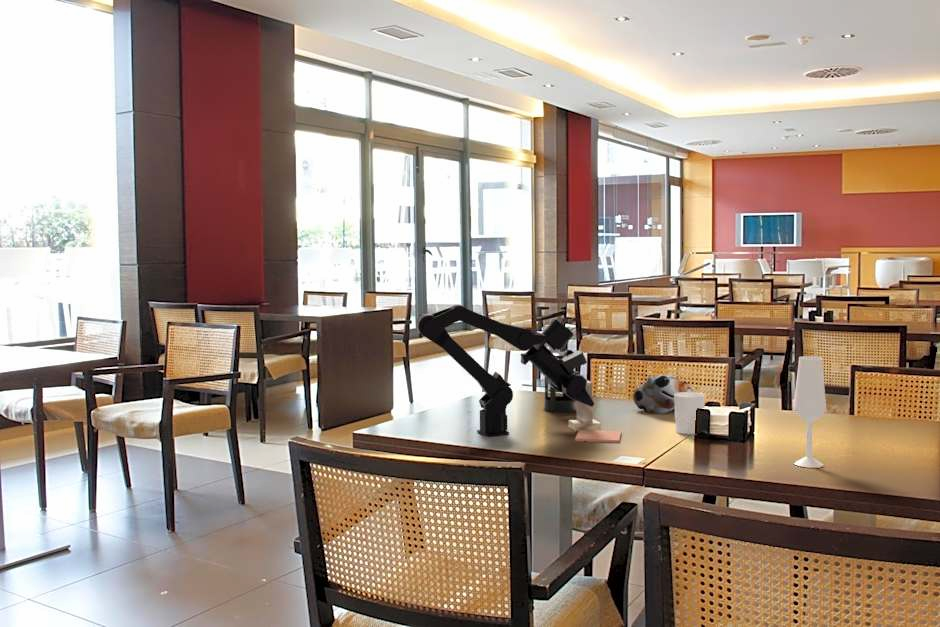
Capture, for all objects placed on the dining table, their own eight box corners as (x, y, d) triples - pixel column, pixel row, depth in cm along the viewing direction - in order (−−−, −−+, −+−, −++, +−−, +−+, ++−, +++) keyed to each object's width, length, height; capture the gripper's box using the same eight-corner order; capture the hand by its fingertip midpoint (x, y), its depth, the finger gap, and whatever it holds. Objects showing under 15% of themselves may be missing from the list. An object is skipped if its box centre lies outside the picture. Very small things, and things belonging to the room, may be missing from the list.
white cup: (702, 429, 236) (702, 392, 235) (707, 435, 228) (707, 397, 228) (671, 428, 237) (672, 391, 236) (675, 435, 229) (676, 396, 228)
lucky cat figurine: (676, 406, 270) (693, 368, 263) (681, 428, 259) (699, 390, 252) (629, 392, 269) (645, 355, 262) (632, 415, 258) (649, 376, 252)
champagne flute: (817, 461, 200) (819, 355, 199) (830, 468, 194) (832, 359, 192) (787, 461, 200) (789, 356, 198) (799, 469, 193) (801, 359, 192)
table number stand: (575, 431, 235) (575, 383, 234) (568, 427, 241) (568, 379, 240) (600, 430, 236) (600, 382, 235) (593, 426, 242) (593, 378, 241)
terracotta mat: (574, 441, 224) (575, 438, 224) (579, 432, 234) (579, 429, 234) (619, 442, 221) (619, 440, 221) (621, 433, 232) (621, 431, 232)
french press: (536, 410, 266) (535, 334, 264) (550, 405, 274) (549, 331, 272) (572, 414, 259) (571, 335, 258) (585, 408, 267) (585, 332, 266)
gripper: (578, 344, 227) (620, 385, 229) (558, 337, 245) (596, 375, 248) (549, 376, 226) (591, 417, 229) (530, 367, 244) (569, 404, 247)
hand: (587, 402), depth 238 cm, fingers open, 9 cm apart
